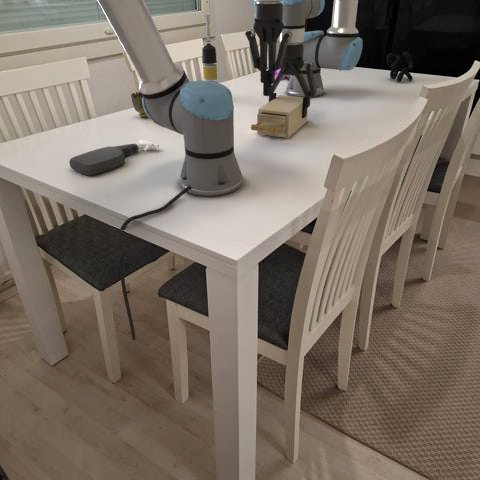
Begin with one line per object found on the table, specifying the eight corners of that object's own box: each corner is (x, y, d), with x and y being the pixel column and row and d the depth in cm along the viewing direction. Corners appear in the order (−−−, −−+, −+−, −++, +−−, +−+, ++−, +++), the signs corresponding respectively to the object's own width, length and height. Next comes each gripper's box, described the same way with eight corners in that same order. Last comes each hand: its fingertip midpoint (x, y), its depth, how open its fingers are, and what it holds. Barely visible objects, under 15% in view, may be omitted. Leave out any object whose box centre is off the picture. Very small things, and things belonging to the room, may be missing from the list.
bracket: (280, 80, 204) (280, 64, 200) (270, 78, 207) (270, 62, 203) (295, 74, 213) (295, 59, 209) (285, 73, 216) (285, 58, 212)
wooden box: (288, 138, 138) (289, 112, 133) (258, 134, 141) (258, 108, 137) (307, 121, 152) (308, 97, 147) (279, 118, 155) (279, 94, 151)
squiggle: (400, 92, 202) (376, 71, 205) (417, 76, 202) (392, 56, 205) (405, 81, 191) (380, 59, 194) (423, 64, 191) (397, 42, 194)
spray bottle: (67, 168, 120) (139, 144, 136) (91, 178, 114) (163, 151, 130) (65, 157, 118) (137, 134, 134) (89, 167, 112) (162, 142, 128)
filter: (220, 99, 177) (217, 15, 161) (206, 100, 176) (202, 16, 160) (215, 96, 182) (212, 14, 166) (202, 97, 180) (197, 14, 164)
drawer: (276, 143, 131) (277, 123, 128) (249, 139, 135) (249, 119, 131) (302, 121, 149) (303, 103, 145) (277, 118, 152) (277, 100, 149)
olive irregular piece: (129, 117, 158) (125, 94, 154) (142, 112, 164) (139, 90, 159) (146, 120, 155) (143, 97, 151) (158, 114, 161) (156, 92, 156)
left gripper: (297, 1, 116) (293, 94, 129) (251, 1, 121) (252, 89, 134) (287, 4, 111) (283, 100, 123) (240, 3, 116) (241, 95, 128)
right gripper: (331, 43, 135) (325, 115, 147) (262, 39, 144) (261, 108, 156) (324, 46, 130) (318, 122, 141) (252, 43, 138) (252, 114, 150)
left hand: (267, 94), depth 128 cm, fingers closed
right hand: (288, 115), depth 148 cm, fingers closed on wooden box, 10 cm apart
